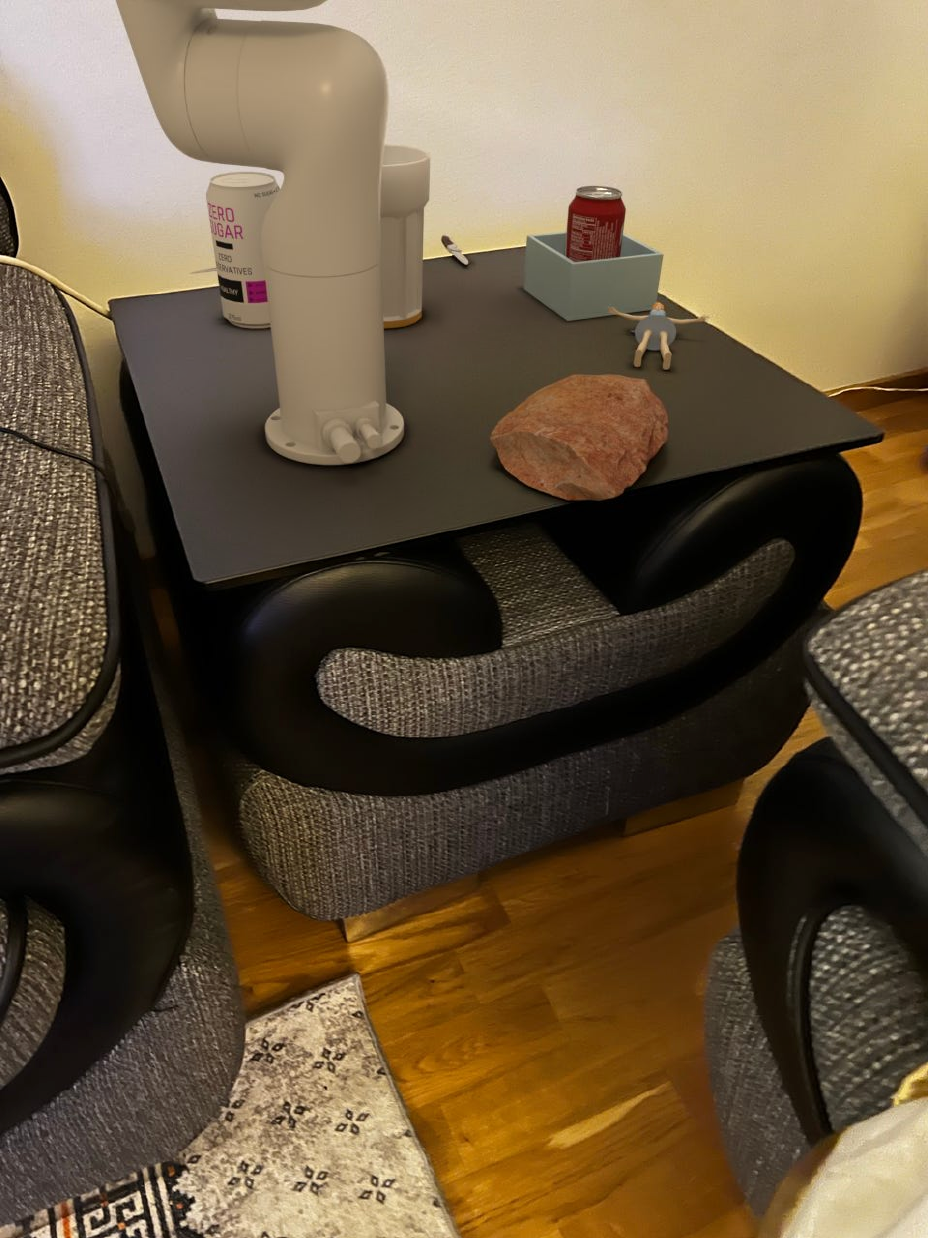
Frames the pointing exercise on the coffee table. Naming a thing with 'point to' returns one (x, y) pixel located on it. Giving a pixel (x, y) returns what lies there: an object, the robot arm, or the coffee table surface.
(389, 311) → the cup
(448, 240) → the pocket knife
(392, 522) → the coffee table surface
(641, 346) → the fairy figurine
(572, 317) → the case
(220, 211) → the supplement can
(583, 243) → the soda can
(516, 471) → the stone
